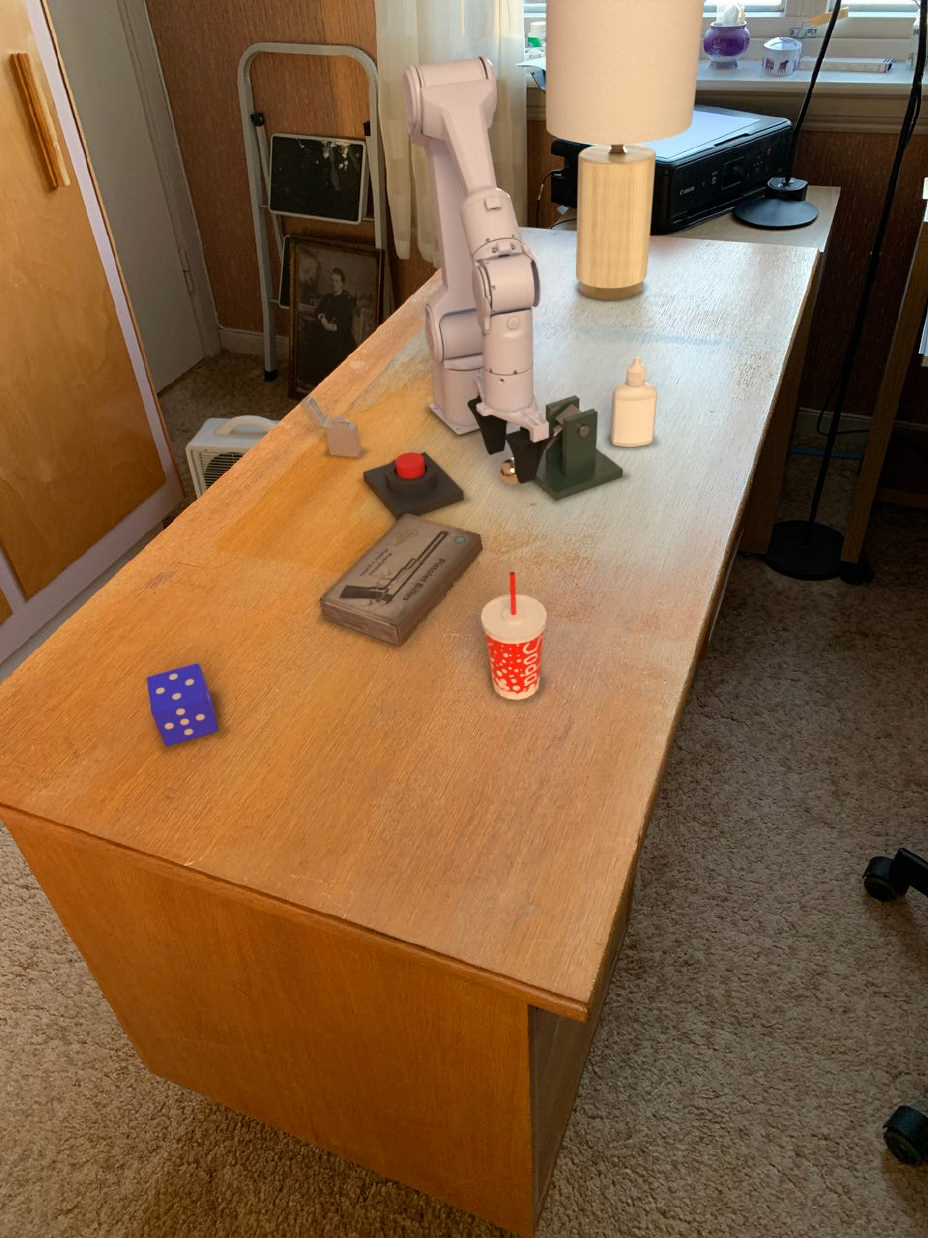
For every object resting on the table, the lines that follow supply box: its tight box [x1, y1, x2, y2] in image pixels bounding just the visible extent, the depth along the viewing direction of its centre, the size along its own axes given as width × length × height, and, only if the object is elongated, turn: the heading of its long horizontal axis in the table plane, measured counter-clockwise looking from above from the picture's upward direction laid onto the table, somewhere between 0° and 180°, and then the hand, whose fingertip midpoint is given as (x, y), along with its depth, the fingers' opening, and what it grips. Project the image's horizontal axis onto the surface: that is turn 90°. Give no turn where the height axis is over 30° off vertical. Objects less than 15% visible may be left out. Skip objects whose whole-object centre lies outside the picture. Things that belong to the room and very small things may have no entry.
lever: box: [499, 404, 582, 485], centre depth 113 cm, size 12×3×3 cm, turn 117°
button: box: [394, 451, 425, 478], centre depth 115 cm, size 4×4×2 cm
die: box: [146, 662, 219, 747], centre depth 88 cm, size 5×5×5 cm
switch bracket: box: [532, 394, 624, 502], centre depth 115 cm, size 10×9×9 cm
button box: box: [362, 451, 465, 521], centre depth 116 cm, size 11×9×3 cm
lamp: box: [545, 0, 705, 301], centre depth 146 cm, size 23×23×44 cm
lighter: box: [299, 394, 362, 458], centre depth 123 cm, size 7×2×8 cm, turn 74°
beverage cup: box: [480, 571, 548, 701], centre depth 86 cm, size 6×6×14 cm
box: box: [318, 513, 484, 647], centre depth 101 cm, size 11×17×3 cm, turn 149°
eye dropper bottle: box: [609, 356, 658, 448], centre depth 119 cm, size 4×6×12 cm
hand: (511, 465), depth 113 cm, fingers open, 7 cm apart
